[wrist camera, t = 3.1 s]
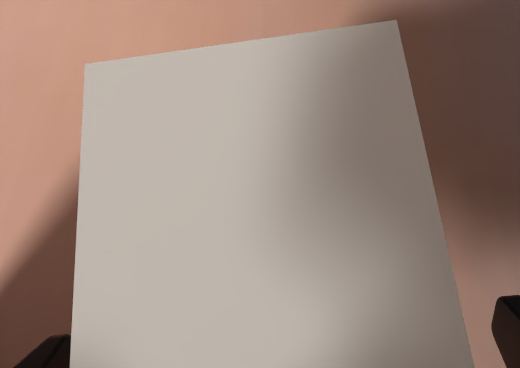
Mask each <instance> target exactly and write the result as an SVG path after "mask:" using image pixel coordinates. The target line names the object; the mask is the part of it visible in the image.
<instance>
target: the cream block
mask: <svg viewBox="0 0 520 368" xmlns="http://www.w3.org/2000/svg"><path fill="white" fill-rule="evenodd" d="M70 368H474V364H473V359H472V355H471V350H470V346H469V341H468V337H467V332H466V328H465V324H464V319H463V315H462V310H461V306H460V301H459V297H458V292H457V288H456V283H455V279H454V274H453V270H452V265H451V261H450V256H449V252H448V247H447V243H446V239H445V234H444V230H443V225H442V221H441V216H440V212H439V207H438V203H437V198H436V194H435V189H434V185H433V180H432V176H431V171H430V167H429V162H428V158H427V153H426V149H425V145H424V140H423V136H422V131H421V127H420V122H419V118H418V113H417V109H416V104H415V100H414V95H413V91H412V86H411V82H410V77H409V73H408V68H407V64H406V60H405V55H404V51H403V46H402V42H401V37H400V33H399V28H398V24H397V20H391V21H384V22H377V23H370V24H363V25H356V26H349V27H342V28H335V29H328V30H321V31H314V32H307V33H300V34H293V35H286V36H279V37H272V38H265V39H258V40H251V41H244V42H237V43H230V44H223V45H216V46H209V47H202V48H195V49H188V50H181V51H174V52H167V53H160V54H153V55H146V56H139V57H132V58H125V59H118V60H111V61H104V62H97V63H90V64H85V76H84V95H83V115H82V134H81V154H80V174H79V193H78V213H77V233H76V252H75V272H74V291H73V311H72V331H71V350H70Z"/></svg>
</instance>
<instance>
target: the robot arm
mask: <svg viewBox="0 0 520 368" xmlns="http://www.w3.org/2000/svg"><path fill="white" fill-rule="evenodd" d="M492 333H493V336H494V339H495V341H496V344H497V346H498V348H499V351H500V353H501V355H502V358H503V360H504V362H505V365H506V367H507V368H520V295H512V296H501V297H499V298H498V299H497V301H496V305H495V310H494V315H493V320H492ZM70 350H71V336H70V335H69V334H64V335H53V336H50V337H49V338H47V339H46V340H45V341H44V342H42V343H41V344H40V345H39V346H38V347H37V348H35V349H34V350H33V351H32V352H31V353H30V354H28V355H27V356H26V357H25V358H24V359H23V360H22V361H20V362H19V363H18V364H17V365H16V366H15V367H13V368H70Z"/></svg>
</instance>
